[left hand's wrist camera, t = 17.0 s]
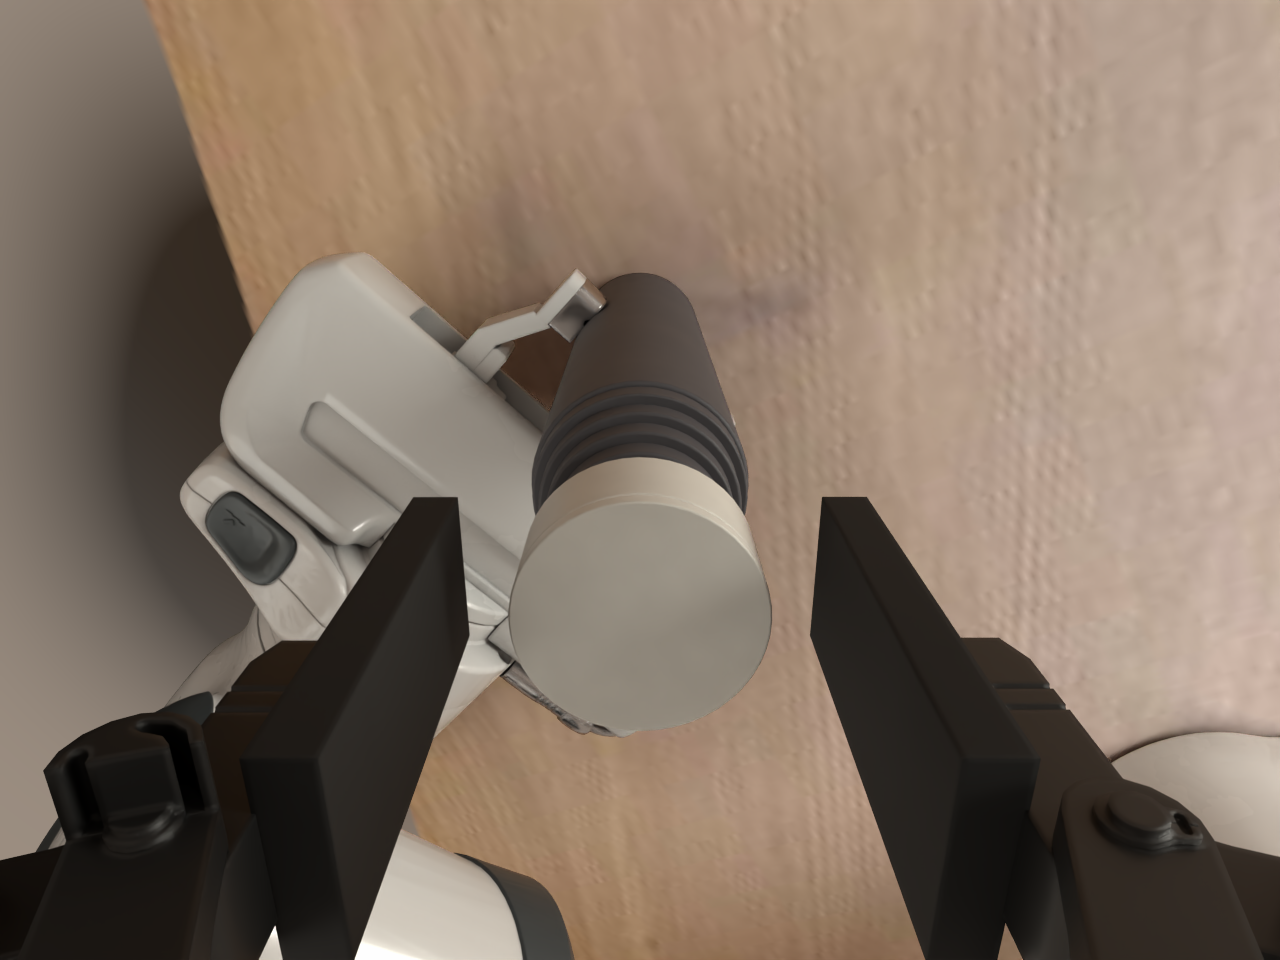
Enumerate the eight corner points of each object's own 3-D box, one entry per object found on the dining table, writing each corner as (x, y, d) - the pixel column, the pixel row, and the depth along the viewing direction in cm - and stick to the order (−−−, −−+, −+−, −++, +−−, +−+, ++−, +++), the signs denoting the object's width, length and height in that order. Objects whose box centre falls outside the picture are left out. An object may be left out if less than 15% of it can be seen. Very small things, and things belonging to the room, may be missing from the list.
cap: (662, 699, 16) (665, 772, 14) (479, 585, 15) (457, 646, 13) (803, 543, 14) (827, 599, 13) (614, 409, 14) (610, 448, 12)
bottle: (568, 289, 34) (450, 508, 13) (682, 259, 33) (756, 434, 12) (599, 399, 35) (541, 753, 14) (708, 371, 35) (812, 695, 14)
